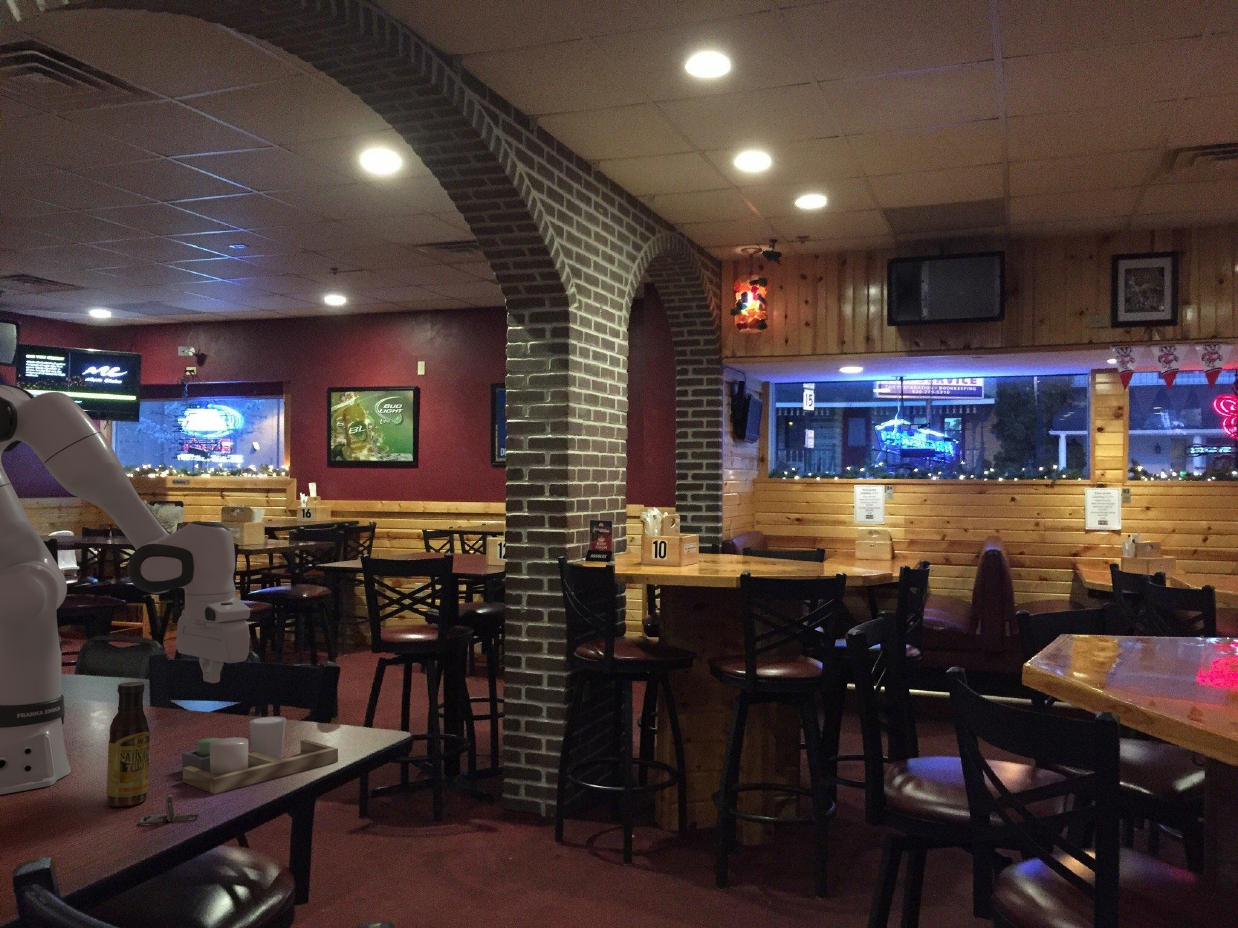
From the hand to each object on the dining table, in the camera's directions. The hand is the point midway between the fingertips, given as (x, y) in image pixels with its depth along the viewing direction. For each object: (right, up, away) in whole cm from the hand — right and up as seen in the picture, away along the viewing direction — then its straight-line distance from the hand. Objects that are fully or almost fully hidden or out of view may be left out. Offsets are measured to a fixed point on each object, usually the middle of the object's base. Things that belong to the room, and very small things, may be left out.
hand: (211, 681), depth 187 cm
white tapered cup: (+7, -17, +9) cm, 20 cm away
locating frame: (+10, -16, -1) cm, 19 cm away
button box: (0, -16, 0) cm, 16 cm away
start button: (0, -14, 0) cm, 14 cm away
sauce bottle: (-6, -16, -19) cm, 26 cm away
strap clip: (+5, -16, -28) cm, 33 cm away
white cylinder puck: (+6, -16, -7) cm, 19 cm away
